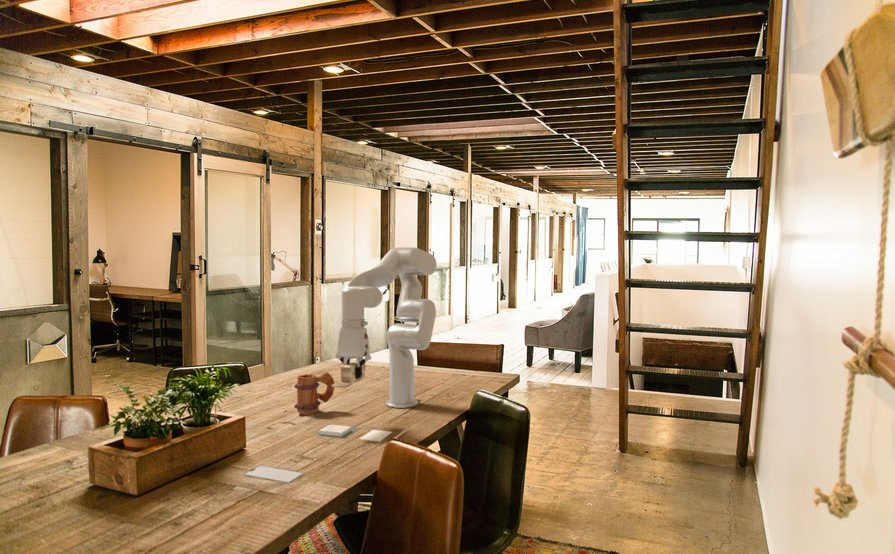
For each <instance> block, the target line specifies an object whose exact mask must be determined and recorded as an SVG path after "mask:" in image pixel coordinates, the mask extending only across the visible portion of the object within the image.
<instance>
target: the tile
mask: <svg viewBox="0 0 895 554" xmlns="http://www.w3.org/2000/svg"><path fill="white" fill-rule="evenodd" d="M351 427H352V426H348V425H340V424H339V425H338V424H337V425H336V424H328V425H327V426H324V427H323V428H321V429H319V430H318V433H319V435H324V436H323V437H325V436H333V437H332V438H335V437H343V436H344V435H346V434H347V433H349V432H351Z"/></svg>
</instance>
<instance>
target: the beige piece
mask: <svg viewBox="0 0 895 554" xmlns="http://www.w3.org/2000/svg"><path fill="white" fill-rule="evenodd" d="M356 367H357V364H356V360H355V361H352V362H350V364H347V365H345V366H344V365H342V366H340V381H338V382H334V384H333V385H332V387H334V388H340V389H341V388H342V389H347V388H348V387H351V386H352V385H353V384H356V383H357V382H359V381H362V380H364V379H366V362H365V363H364V364H363V366H362V376H361V378H358V379H356V378H355V368H356Z"/></svg>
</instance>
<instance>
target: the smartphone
mask: <svg viewBox="0 0 895 554" xmlns="http://www.w3.org/2000/svg"><path fill="white" fill-rule="evenodd" d="M304 475H305V474H304V472H302V471H301V472H300V471H295V470H289V469H283V468H277V467H273V466H272V467H271V466H266V465H259V466H256V467H254V468H253V469H250V470H249V471H246V472H245V473H244V474H243V476H245V477H248V478H255V479H262V480H266V481H273V482H278V483H283V482H284V483H285V484H289V483H292V482H294V481H295V480H297V479H299V478H300V477H302V476H304Z"/></svg>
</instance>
